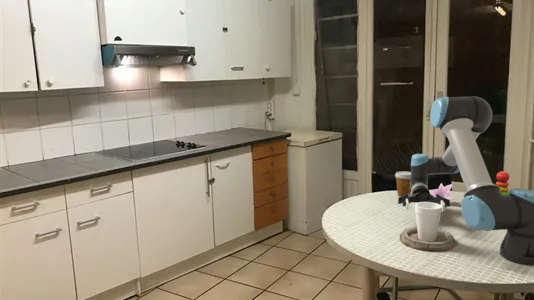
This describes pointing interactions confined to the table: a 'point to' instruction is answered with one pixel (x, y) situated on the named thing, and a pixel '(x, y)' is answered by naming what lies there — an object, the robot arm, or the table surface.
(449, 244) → the plate
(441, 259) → the table surface
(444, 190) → the lily
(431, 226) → the foam cup
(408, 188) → the disposable coffee cup
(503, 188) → the stacking toy
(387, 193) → the table surface
